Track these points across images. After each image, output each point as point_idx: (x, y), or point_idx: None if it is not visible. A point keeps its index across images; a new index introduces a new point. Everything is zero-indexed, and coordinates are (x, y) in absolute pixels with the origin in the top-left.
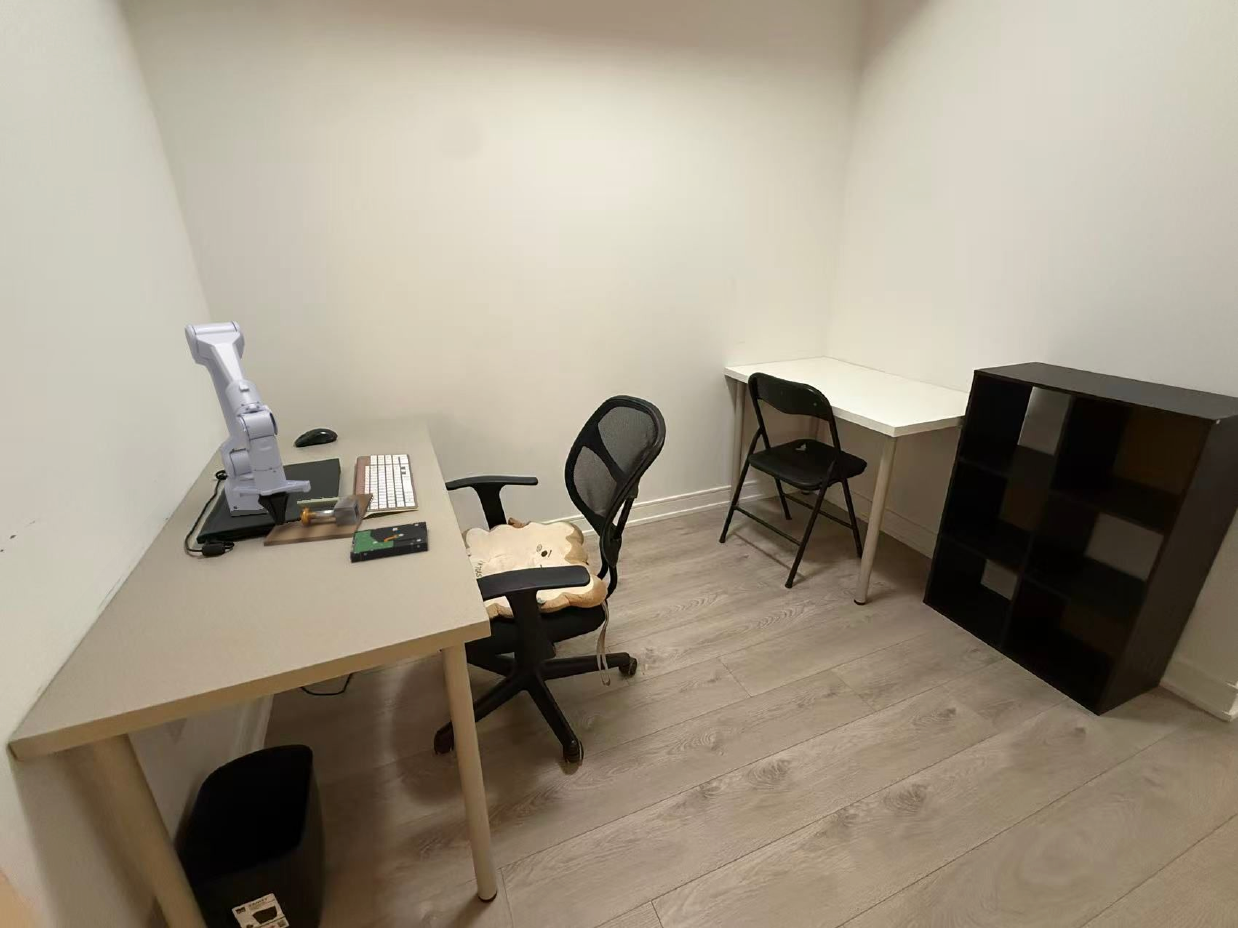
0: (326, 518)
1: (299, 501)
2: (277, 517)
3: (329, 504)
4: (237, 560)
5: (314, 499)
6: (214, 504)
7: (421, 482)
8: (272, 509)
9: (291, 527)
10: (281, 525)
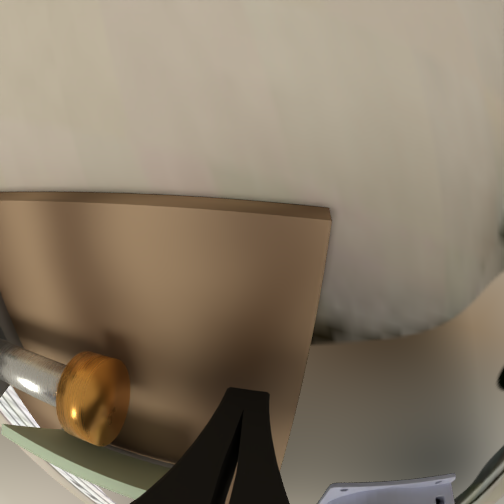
0: None
1: None
2: (232, 434)
3: (91, 447)
4: (452, 46)
5: (80, 477)
6: (466, 500)
7: None
8: (233, 502)
9: (196, 366)
10: None
